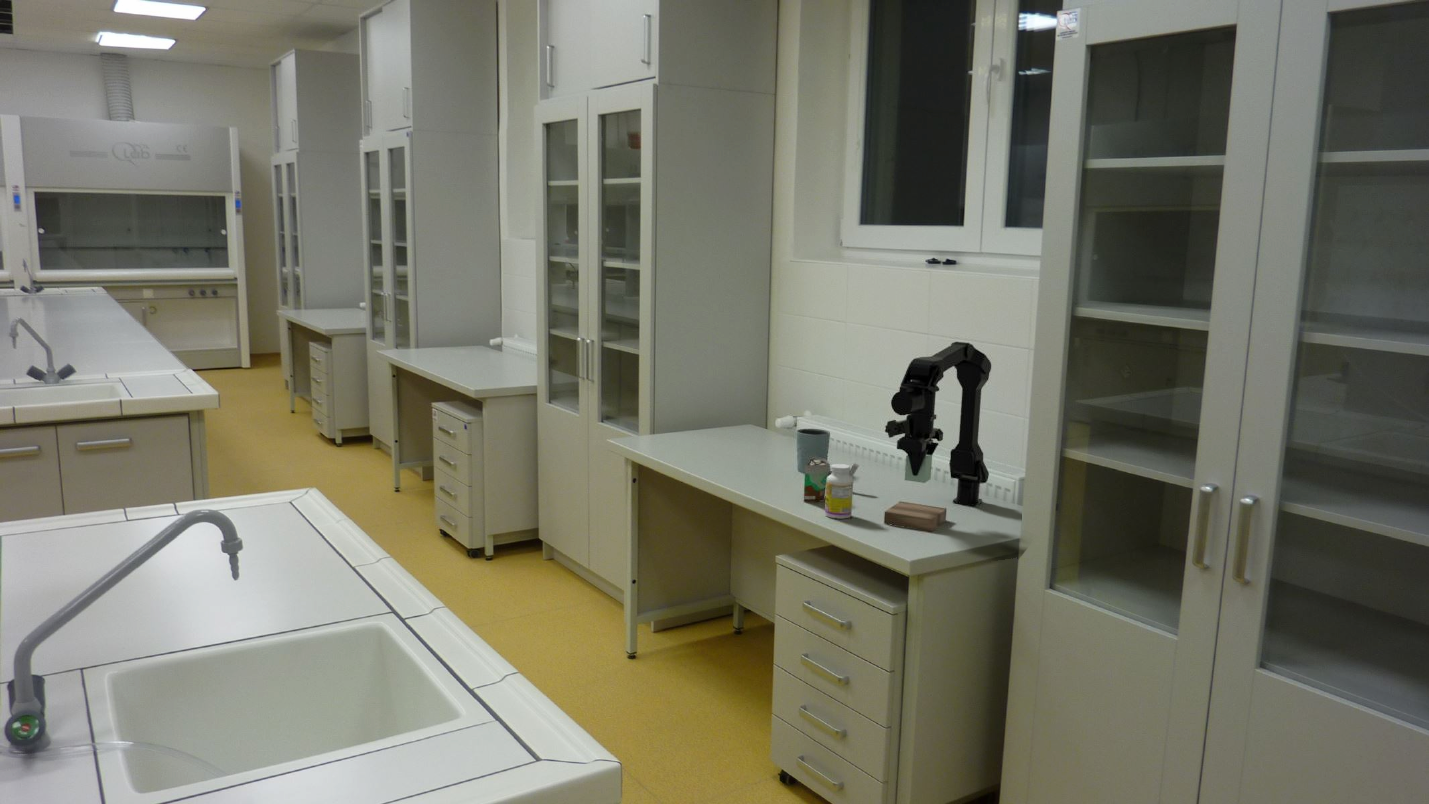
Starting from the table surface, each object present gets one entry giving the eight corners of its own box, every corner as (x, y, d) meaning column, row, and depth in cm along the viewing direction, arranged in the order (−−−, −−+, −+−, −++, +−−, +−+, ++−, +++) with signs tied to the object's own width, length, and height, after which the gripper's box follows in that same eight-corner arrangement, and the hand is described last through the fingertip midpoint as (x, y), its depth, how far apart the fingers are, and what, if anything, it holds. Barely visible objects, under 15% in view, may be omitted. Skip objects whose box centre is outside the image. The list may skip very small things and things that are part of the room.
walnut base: (899, 512, 258) (900, 501, 257) (945, 520, 252) (946, 508, 252) (883, 523, 247) (884, 511, 247) (931, 531, 242) (932, 519, 241)
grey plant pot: (811, 476, 294) (813, 435, 292) (787, 469, 302) (788, 430, 300) (835, 472, 301) (837, 432, 299) (810, 465, 308) (812, 426, 306)
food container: (826, 505, 263) (828, 467, 261) (803, 503, 264) (804, 465, 262) (830, 493, 275) (832, 457, 273) (808, 492, 276) (810, 456, 274)
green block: (910, 476, 252) (912, 452, 251) (930, 478, 249) (932, 455, 248) (904, 480, 247) (906, 456, 246) (924, 483, 245) (926, 458, 244)
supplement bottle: (827, 511, 257) (829, 461, 255) (853, 514, 255) (856, 464, 253) (822, 517, 251) (825, 467, 249) (848, 520, 249) (851, 470, 247)
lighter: (830, 490, 279) (832, 461, 278) (832, 488, 280) (833, 460, 279) (856, 493, 276) (857, 464, 275) (857, 491, 278) (859, 463, 277)
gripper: (902, 402, 257) (898, 462, 260) (877, 412, 241) (874, 476, 244) (945, 407, 252) (941, 468, 255) (923, 417, 236) (919, 482, 238)
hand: (918, 473), depth 248 cm, fingers closed on green block, 5 cm apart
